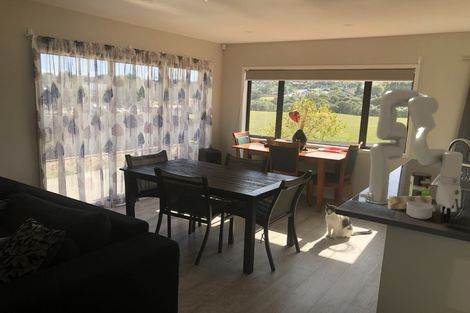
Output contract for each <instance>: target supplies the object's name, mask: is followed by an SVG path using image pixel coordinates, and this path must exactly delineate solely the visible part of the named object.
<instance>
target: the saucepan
mask: <svg viewBox="0 0 470 313" xmlns="http://www.w3.org/2000/svg"><path fill="white" fill-rule="evenodd" d="M406 204H407V209H406V214H407V215H408V216H409V217H411V218H414V219H418V220H428V219H430V218H432V217H433V212H434V213H437V212H440V207H438V208H437V207H435V206H434V205H432V204H431V205H430V204H427V203H422V202H407V203H406Z"/></svg>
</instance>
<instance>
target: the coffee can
mask: <svg viewBox="0 0 470 313" xmlns="http://www.w3.org/2000/svg"><path fill="white" fill-rule="evenodd" d="M432 176H433V175H432V174H431V173H426V172H418V171H417V172H414V171H413V172H411V173H410V184H409V193H408V196H430V192H431V185H432V184H431V183H432Z"/></svg>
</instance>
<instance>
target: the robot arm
mask: <svg viewBox="0 0 470 313" xmlns="http://www.w3.org/2000/svg"><path fill="white" fill-rule="evenodd" d="M379 102H380V103H379V106H380V107H379V115H378V122H377V127H376V137H377V138H378V139H379V140H381V141H386V142H381V141H380V142H376V143H373V144H372V145H371V147H370V149H369V157H370V169H369V170H370V172H369V184H368V185H369V186H368V191H366V193H359V198H363V199H364V200H365V201H366V202H368V203H369V204H376V205H388V199H389V188H390V187H389V184H390V174H391V168H390V165H389V162H388V161H398V160H400V159H401V158H402V157H403V155H404V152H405V148H406V143H407V137H408V128H407V126H406V125H405V123H403V122H400V121H397V120H398V110H397V108H399V107H400V108H407V109H408V110H407V111H408V113H409V116H410V119H411V122H412V124H413V127H414V130H415V131H414V132H415V133H414V135H413V139H412V149H413V152H414V156H415V158H416V160H417V161H418V163H419V164H420V165H421V166H422V167H423V166H424V167H440V173H439V179H438V180H439V182H438V185H437V189H436V194H435V202H436V206H437V207H438V208H440V211H439V212H440V220H439V221H440V222H442V223H446V224H447V223H448V224H449V223H450V222H451V215H452V214H453V213H456V212H457V209H461V206H462V204H461V203H462V187H461V185H460V184H461V175H462V168H463V167H462V166H463V157H464V156H463V153H462V152H458V151H453V150H452V151H451V150H447V149H444V148H429V145H428V143H427V136H428V134H429V132H431V131H433V130H434V129H435V128H436V126H437V125H436V122H435V120H434V117H433V115H435V114H436V113H437V111H438V110H439V102H438V100H437V99H436V98H435V97H433V96H431V95H429V94H426V93H424V92H421V91H418V90H414V89H402V88H398V89H397V88H396V89H395V88H394V89H389V90H387V91H385V92H384V93H383V95H382V96H381V99H380V101H379ZM387 141H389V142H387Z"/></svg>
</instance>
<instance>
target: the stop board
mask: <svg viewBox="0 0 470 313" xmlns="http://www.w3.org/2000/svg"><path fill="white" fill-rule="evenodd" d="M387 199H388V204H387V209H389V210H407V204H406V203H407V202H422V203H427V204H430V205H432V202H433V201H432V200H433V197H432V196H430V195H429V196H409V195H403V196H402V195H397V196H396V195H393V196H392V195H390V196H389V195H388V198H387Z"/></svg>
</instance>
